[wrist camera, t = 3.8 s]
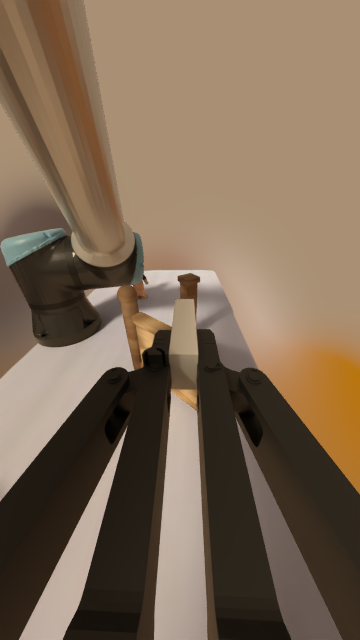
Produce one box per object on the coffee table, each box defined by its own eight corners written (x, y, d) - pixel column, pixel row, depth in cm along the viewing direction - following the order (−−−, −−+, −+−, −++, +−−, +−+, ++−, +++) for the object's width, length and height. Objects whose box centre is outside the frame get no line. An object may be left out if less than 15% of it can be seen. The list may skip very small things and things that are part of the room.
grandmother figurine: (151, 294, 66) (147, 258, 59) (149, 299, 63) (145, 261, 56) (130, 295, 66) (123, 259, 60) (127, 299, 63) (120, 262, 56)
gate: (141, 367, 34) (131, 315, 28) (148, 362, 35) (140, 311, 29) (199, 413, 26) (203, 355, 21) (206, 404, 28) (212, 347, 22)
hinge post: (131, 364, 37) (113, 284, 28) (145, 358, 38) (132, 280, 29) (135, 374, 35) (117, 290, 26) (150, 368, 36) (138, 286, 27)
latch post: (179, 335, 45) (177, 276, 37) (189, 331, 46) (190, 273, 38) (186, 342, 43) (186, 280, 35) (197, 337, 44) (200, 277, 36)
